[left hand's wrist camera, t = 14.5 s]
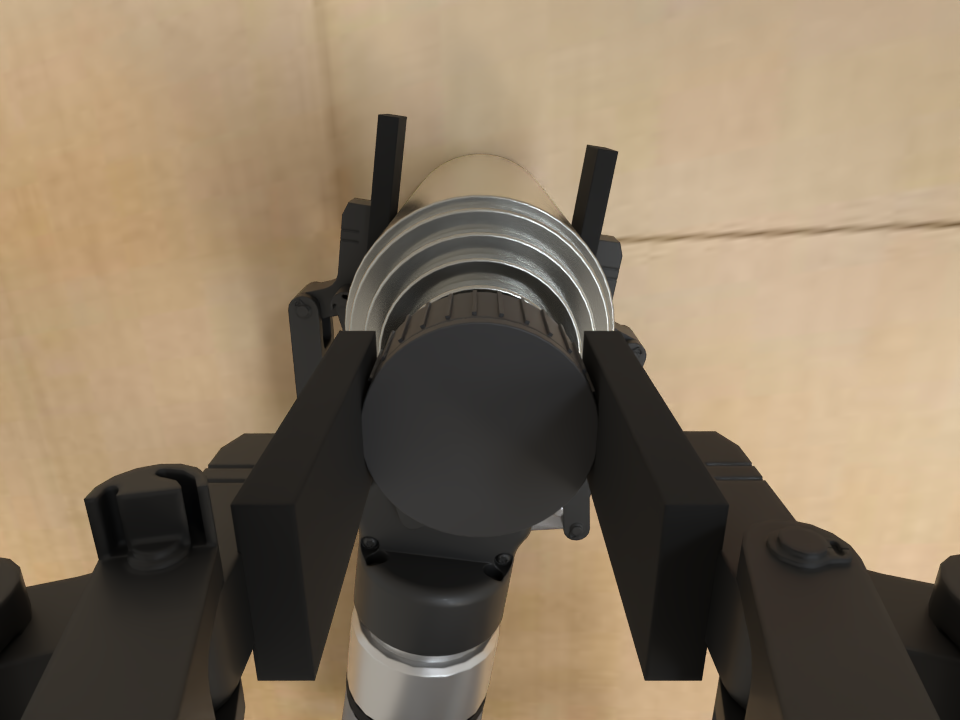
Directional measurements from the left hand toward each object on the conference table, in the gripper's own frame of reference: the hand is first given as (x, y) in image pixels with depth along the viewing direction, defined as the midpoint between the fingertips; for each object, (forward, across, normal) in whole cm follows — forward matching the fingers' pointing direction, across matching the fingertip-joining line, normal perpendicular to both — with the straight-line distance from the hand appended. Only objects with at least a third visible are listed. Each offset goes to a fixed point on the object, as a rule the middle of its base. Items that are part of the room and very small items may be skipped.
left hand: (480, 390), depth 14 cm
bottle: (+20, 0, 0) cm, 20 cm away
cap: (-2, 0, 0) cm, 2 cm away
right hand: (+14, -1, -5) cm, 15 cm away
